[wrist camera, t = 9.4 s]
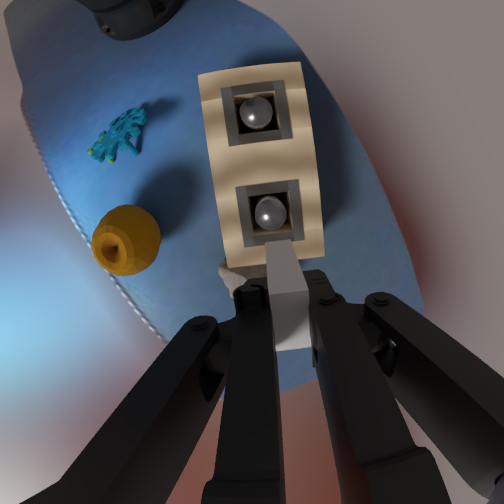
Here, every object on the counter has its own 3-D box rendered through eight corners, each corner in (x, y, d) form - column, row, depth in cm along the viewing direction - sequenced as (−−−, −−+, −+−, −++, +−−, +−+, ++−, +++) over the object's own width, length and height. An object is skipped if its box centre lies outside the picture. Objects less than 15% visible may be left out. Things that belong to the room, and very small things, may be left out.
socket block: (209, 90, 34) (197, 74, 26) (292, 80, 33) (300, 61, 25) (233, 248, 41) (228, 268, 34) (312, 238, 41) (324, 256, 33)
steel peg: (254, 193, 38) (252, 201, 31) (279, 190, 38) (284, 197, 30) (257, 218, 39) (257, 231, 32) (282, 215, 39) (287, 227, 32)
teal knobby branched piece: (149, 95, 33) (133, 137, 28) (168, 122, 38) (158, 166, 33) (95, 126, 35) (75, 170, 31) (115, 147, 40) (101, 191, 36)
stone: (209, 279, 43) (202, 296, 38) (235, 237, 41) (231, 249, 36) (261, 308, 45) (261, 328, 39) (289, 270, 43) (293, 286, 37)
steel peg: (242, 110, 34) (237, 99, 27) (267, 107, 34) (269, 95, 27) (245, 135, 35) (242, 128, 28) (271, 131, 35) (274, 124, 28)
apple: (122, 258, 43) (86, 288, 31) (113, 202, 39) (70, 218, 28) (174, 257, 42) (147, 290, 31) (167, 196, 39) (134, 211, 28)
